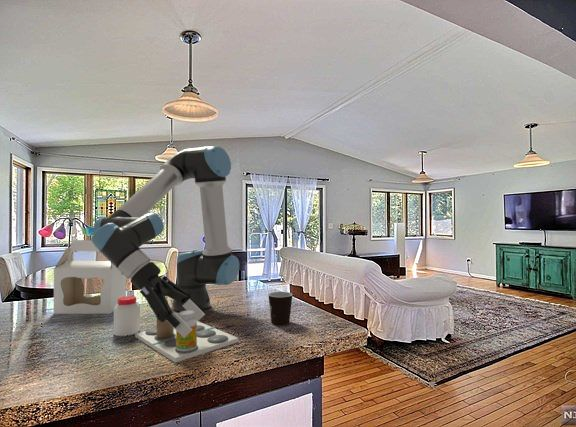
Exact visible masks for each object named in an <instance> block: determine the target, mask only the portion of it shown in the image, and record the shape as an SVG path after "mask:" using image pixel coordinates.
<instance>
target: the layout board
mask: <svg viewBox="0 0 576 427" xmlns="http://www.w3.org/2000/svg"><path fill="white" fill-rule="evenodd" d="M170 308H171V311H172V314H173V313H174V312H175V310H174V308H172V306H170ZM196 321H197V320H196ZM134 335H135V336H134V337H135V338H136V339H137V338H138V341H140V342H142V343H144V344H145V345H147V346H148V347H150V348H151V349H153V350H155V352H158V353H159V354H160V355H162V356H164V357H165V358H167V359H168V360H170V361H171V362H173V363H178V362H182V361H185V360H188V359H191V358H194V357H197V356H200V355H203V354H206V353H210V352H212V351H215V350H218V349H221V348H224V347H227V346H230V345H233V344H237V343H239V337H238V336H234V335H233V334H230V333H227V332H225V331H222V330H220V329H218V328H215V327H214V326H210V325H208V324H205V323H204V322H201V321H200V320H199V321H197V346H196V348H195V349H193V350H190V351H179V350H177V349H176V330H175V329H174V328H173V327H172V326H171V325H170V324H169V323H168V322H167V321H166V320H165V321H164V322H161V321H160V320H158V318H157V317H156V327H153V328H149V329H147V330H144V331H143V330H142V331H139V332H138V333H135V334H134Z"/></svg>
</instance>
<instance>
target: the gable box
mask: <svg viewBox="0 0 576 427" xmlns="http://www.w3.org/2000/svg"><path fill="white" fill-rule="evenodd" d="M77 252H78V253H79V252H80V253H81V252H89V253H90V252H99V253H101V252H100V251H99V250H98V249H97V248H96V246H95V245H94V244H93V243H92V240H90V239H79V240H78V239H76V240H75V239H73V240H72V241H71V242H70V247H65V248H64V252H63V254H62V256H61V258H60V259H59V261H58V262H57V264H56V265H55V267H54V269H53V315H91V314H92V315H93V314H95V315H100V314H101V315H104V314H105V315H106V314H108V315H109V314H110V315H111V314H112V313H113V314H114V306H115V305H116V304H118V298H120V297H125V296H127V277H126V276H125V275H122V274H121V271H120V270H119V269H118V268H117V267H116V266H114V265H113V264H112V263H111V262H110V261H109V260H75V254H74V253H77ZM94 278H95V279H96V278H97V279H102V280H103V284H102V288H101V290H100V294H99V295H94V296H90V297H87V296H85V295H84V291H85V287H84V283H83V280H82V279H85V280H87V279H94Z"/></svg>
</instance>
